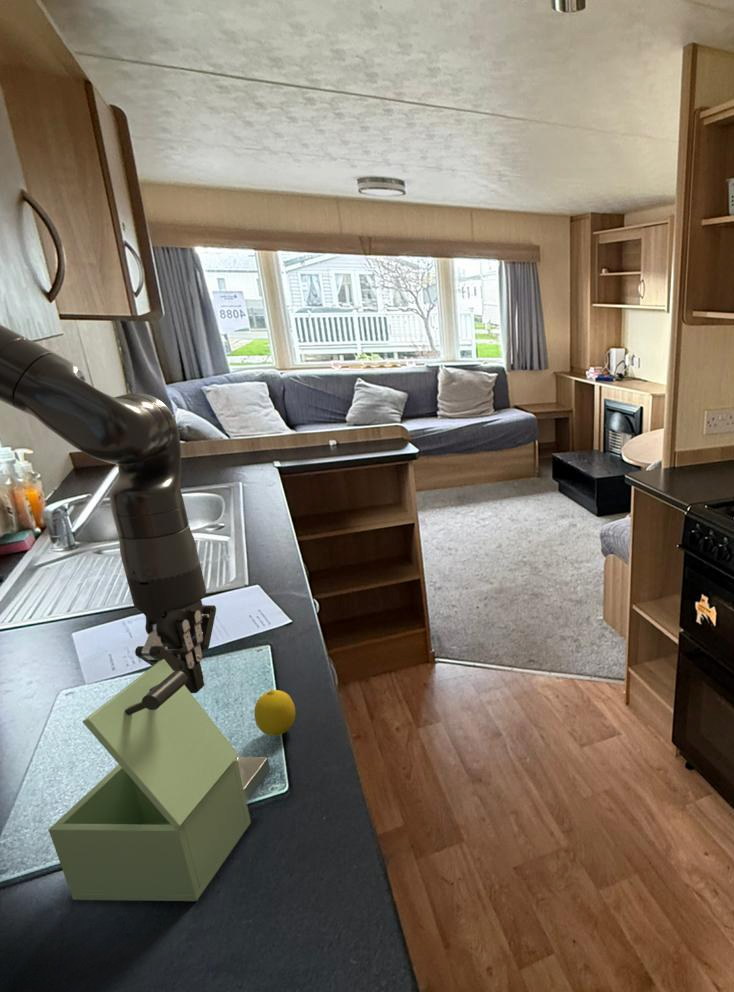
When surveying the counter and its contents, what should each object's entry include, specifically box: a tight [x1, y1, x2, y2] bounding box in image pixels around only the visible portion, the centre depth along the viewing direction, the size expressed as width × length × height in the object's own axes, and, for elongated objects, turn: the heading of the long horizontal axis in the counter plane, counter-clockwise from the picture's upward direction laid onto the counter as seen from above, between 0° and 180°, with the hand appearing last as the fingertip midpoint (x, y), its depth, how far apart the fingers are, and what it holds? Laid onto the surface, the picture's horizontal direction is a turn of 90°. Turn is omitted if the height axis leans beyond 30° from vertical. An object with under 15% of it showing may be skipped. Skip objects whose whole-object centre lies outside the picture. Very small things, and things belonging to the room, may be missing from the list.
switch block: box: [235, 755, 271, 803], centre depth 88 cm, size 11×8×4 cm
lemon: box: [254, 689, 296, 737], centre depth 99 cm, size 6×6×8 cm
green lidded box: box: [48, 759, 252, 902], centre depth 76 cm, size 14×12×10 cm
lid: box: [82, 659, 239, 828], centre depth 71 cm, size 15×12×5 cm
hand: (193, 690), depth 84 cm, fingers closed
